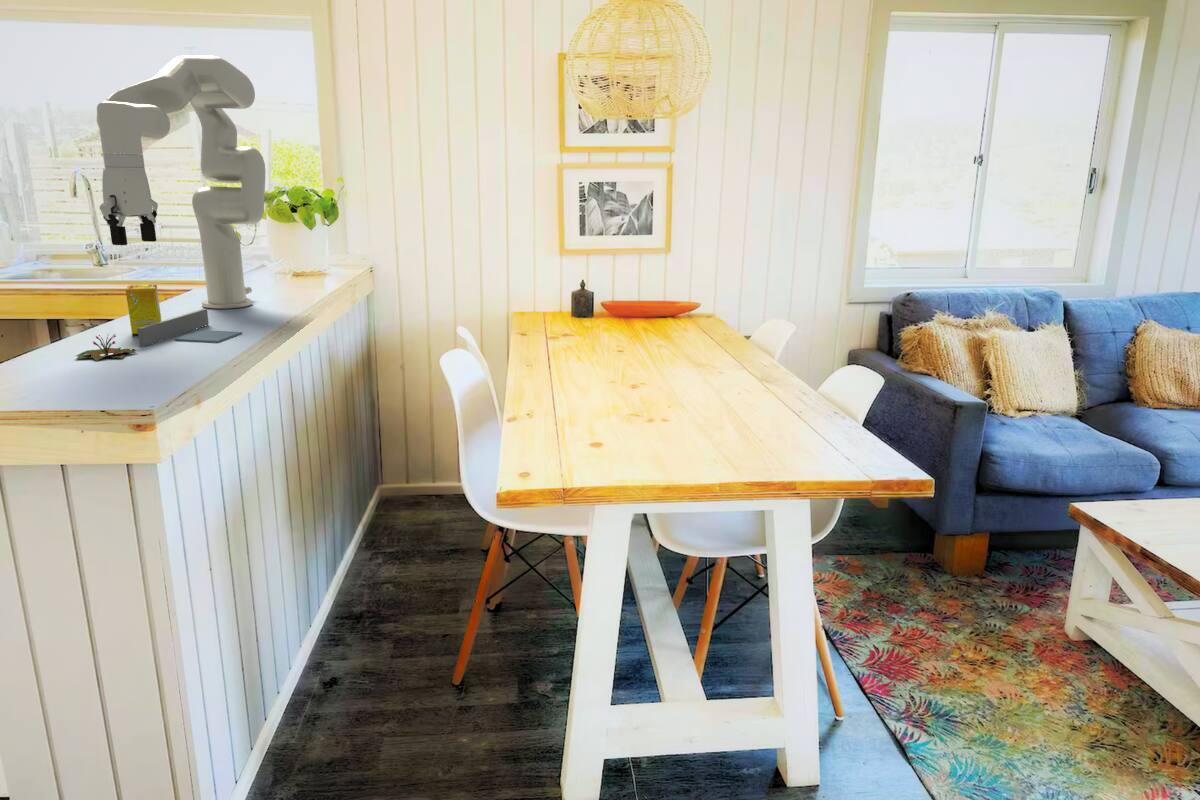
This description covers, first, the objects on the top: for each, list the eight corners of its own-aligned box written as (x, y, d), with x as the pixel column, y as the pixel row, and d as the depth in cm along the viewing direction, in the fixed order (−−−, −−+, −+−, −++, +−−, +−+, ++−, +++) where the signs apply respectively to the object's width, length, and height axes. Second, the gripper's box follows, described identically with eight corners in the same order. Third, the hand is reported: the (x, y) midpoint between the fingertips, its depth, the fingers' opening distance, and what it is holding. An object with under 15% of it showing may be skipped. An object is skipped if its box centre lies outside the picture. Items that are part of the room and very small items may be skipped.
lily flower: (62, 364, 157) (58, 342, 156) (86, 351, 168) (83, 329, 167) (128, 363, 159) (125, 341, 158) (148, 350, 171) (145, 328, 169)
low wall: (205, 325, 194) (203, 308, 193) (208, 325, 194) (206, 309, 193) (139, 346, 171) (137, 328, 170) (144, 346, 171) (141, 328, 170)
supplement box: (134, 332, 185) (127, 285, 181) (163, 330, 187) (157, 284, 184) (131, 337, 179) (124, 289, 176) (161, 335, 182) (155, 287, 179)
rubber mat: (201, 331, 187) (201, 329, 187) (242, 333, 186) (241, 331, 186) (175, 340, 177) (174, 338, 177) (217, 342, 176) (217, 341, 176)
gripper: (134, 162, 181) (144, 239, 186) (78, 162, 165) (91, 246, 169) (165, 163, 180) (175, 240, 185) (112, 162, 164) (124, 247, 169)
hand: (135, 243), depth 177 cm, fingers open, 9 cm apart
